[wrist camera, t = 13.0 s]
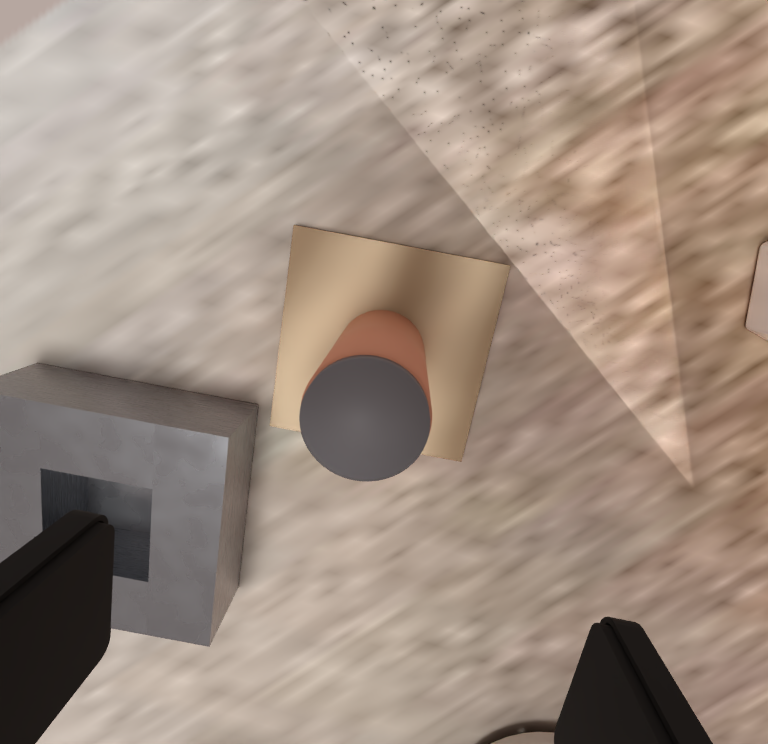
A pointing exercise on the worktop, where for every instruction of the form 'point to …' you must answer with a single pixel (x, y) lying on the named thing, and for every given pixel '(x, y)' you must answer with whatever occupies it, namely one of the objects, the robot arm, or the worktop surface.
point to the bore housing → (133, 487)
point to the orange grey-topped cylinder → (369, 399)
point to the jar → (759, 296)
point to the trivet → (398, 294)
